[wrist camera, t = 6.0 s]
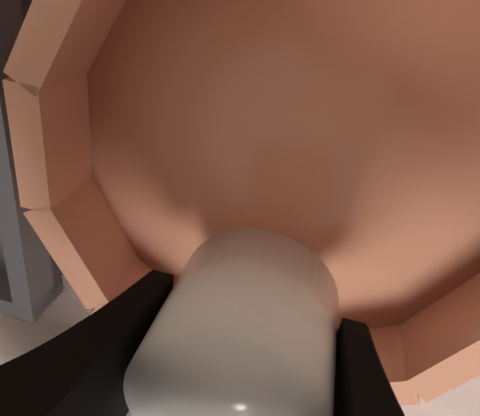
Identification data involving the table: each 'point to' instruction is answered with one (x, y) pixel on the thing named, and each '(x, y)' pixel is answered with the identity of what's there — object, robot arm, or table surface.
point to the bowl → (265, 152)
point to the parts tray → (19, 209)
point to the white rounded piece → (241, 334)
